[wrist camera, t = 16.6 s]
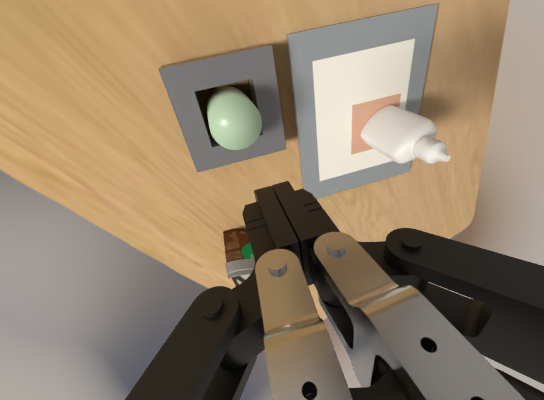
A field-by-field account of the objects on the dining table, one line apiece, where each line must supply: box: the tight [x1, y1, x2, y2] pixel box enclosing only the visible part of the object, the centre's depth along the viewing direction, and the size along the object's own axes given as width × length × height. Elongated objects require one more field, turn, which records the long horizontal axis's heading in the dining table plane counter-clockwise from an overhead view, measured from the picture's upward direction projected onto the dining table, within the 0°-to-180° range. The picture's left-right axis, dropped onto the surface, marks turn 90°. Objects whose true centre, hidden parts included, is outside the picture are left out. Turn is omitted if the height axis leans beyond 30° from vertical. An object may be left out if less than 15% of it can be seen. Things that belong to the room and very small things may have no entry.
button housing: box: [159, 45, 286, 172], centre depth 29 cm, size 11×11×3 cm
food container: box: [223, 229, 255, 286], centre depth 38 cm, size 12×6×10 cm, turn 14°
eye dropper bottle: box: [360, 105, 451, 164], centre depth 30 cm, size 4×6×12 cm
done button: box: [207, 86, 262, 150], centre depth 27 cm, size 5×5×6 cm
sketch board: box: [287, 4, 438, 199], centre depth 34 cm, size 22×18×1 cm
